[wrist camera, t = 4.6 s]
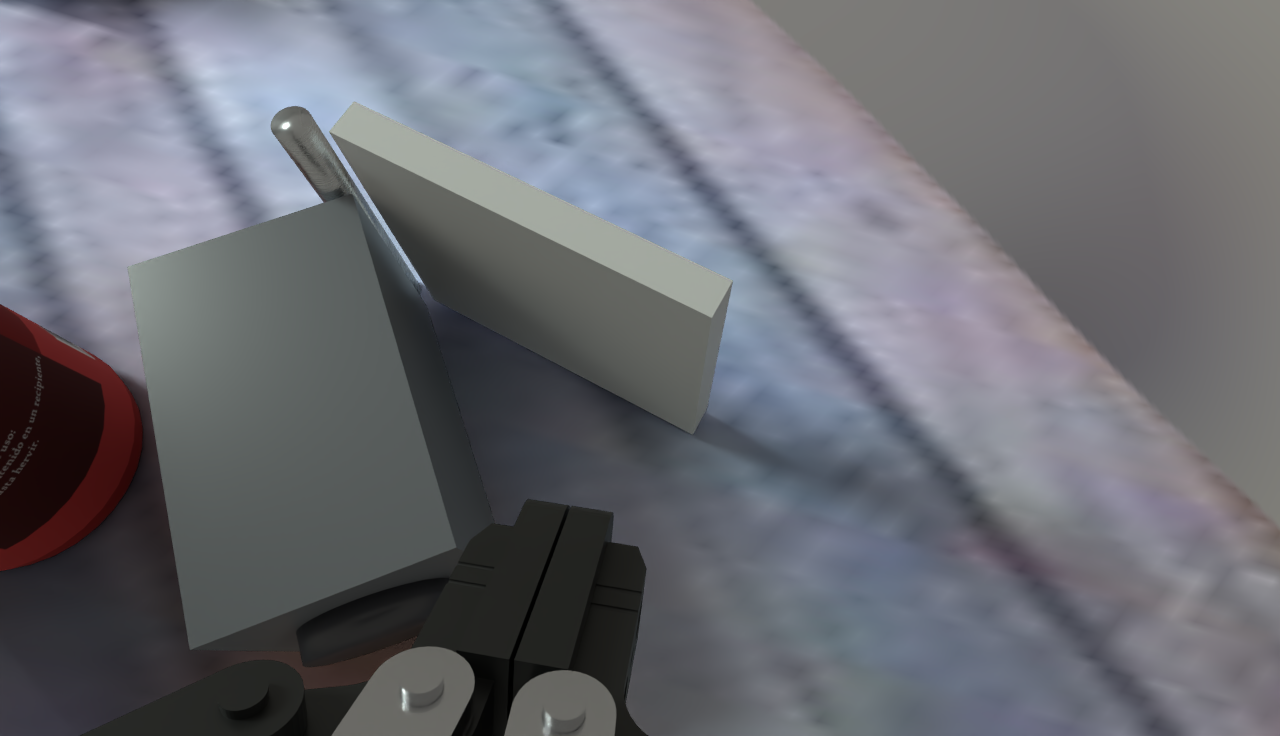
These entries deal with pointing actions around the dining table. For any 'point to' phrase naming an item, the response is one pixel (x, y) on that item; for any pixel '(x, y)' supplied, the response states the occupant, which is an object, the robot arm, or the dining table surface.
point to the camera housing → (304, 427)
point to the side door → (544, 269)
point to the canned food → (58, 441)
